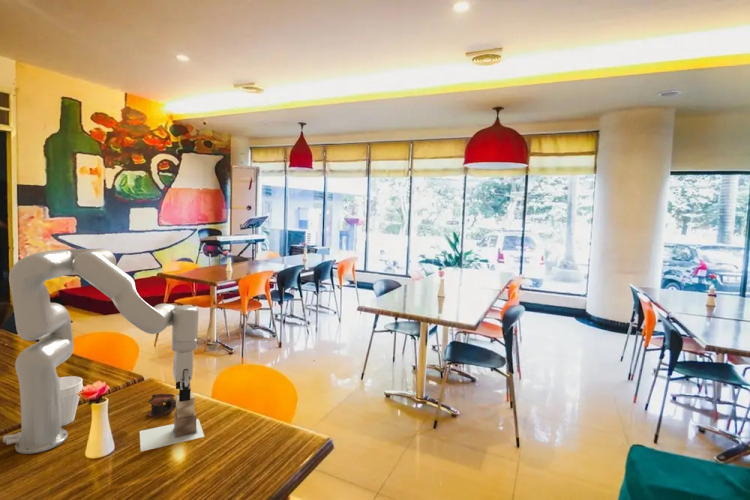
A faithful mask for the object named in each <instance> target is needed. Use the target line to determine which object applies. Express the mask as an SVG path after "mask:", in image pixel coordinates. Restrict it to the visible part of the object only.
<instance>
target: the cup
mask: <svg viewBox="0 0 750 500" xmlns="http://www.w3.org/2000/svg"><path fill="white" fill-rule="evenodd" d="M59 381H60V396H61V427H64V426H66V425H69V424H71V423H73V422H74V421H75V417H76V414H77V409H78V405H79V401H80V399H81V398H80V397H81V395H80V396H79V395H78V393H79V392H80V391H81V392H82V391H83V389H84V385H83V381H84V380H83V378H82V377H80V376H75V375H74V376H72V375H71V376H70V375H69V376H62V377H59ZM82 388H83V389H82Z"/></svg>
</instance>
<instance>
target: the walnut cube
mask: <svg viewBox="0 0 750 500" xmlns="http://www.w3.org/2000/svg"><path fill="white" fill-rule="evenodd" d="M173 411H174V410H173ZM173 415H174V416H173V417H174V418H173V419H174V421H173V422H174V423H173V424H174V429H175V434H176V437H180V436H185V435H189V434H193V433H196V419H197V413H196V410H195V409H194V415H192V416H188V417H183V418H177V414H176V410H175V411H174V413H173Z"/></svg>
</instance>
